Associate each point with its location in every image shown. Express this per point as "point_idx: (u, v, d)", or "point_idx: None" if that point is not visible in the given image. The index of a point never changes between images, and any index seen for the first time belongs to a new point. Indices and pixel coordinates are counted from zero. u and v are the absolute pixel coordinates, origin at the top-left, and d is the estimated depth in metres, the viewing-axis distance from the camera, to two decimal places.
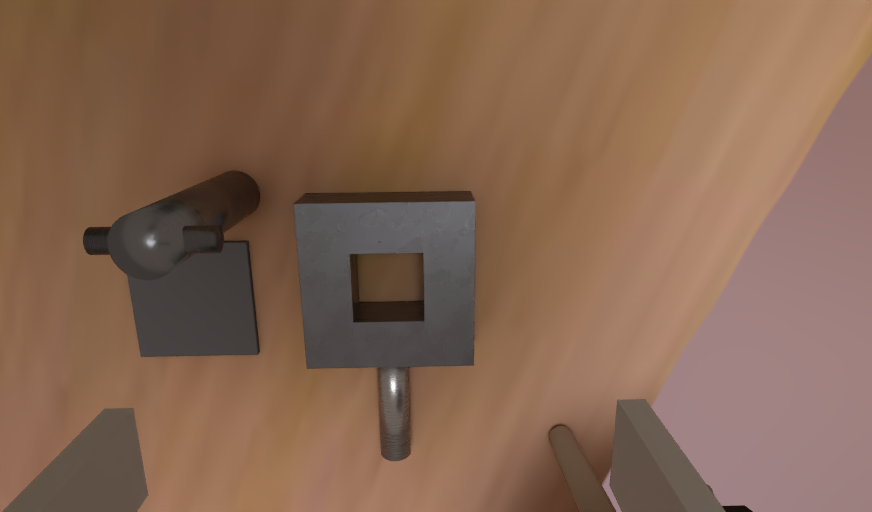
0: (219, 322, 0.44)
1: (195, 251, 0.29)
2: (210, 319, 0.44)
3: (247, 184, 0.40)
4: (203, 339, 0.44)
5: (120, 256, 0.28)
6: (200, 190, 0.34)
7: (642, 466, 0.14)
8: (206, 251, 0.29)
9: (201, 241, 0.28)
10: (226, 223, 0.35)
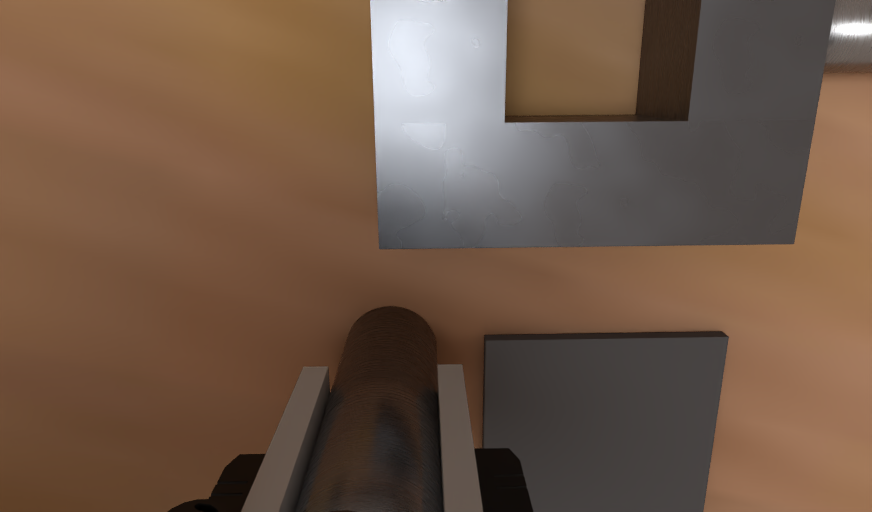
0: (649, 401, 0.22)
1: None
2: (641, 417, 0.22)
3: (358, 333, 0.20)
4: (680, 432, 0.22)
5: None
6: None
7: (439, 418, 0.16)
8: None
9: None
10: (394, 417, 0.14)
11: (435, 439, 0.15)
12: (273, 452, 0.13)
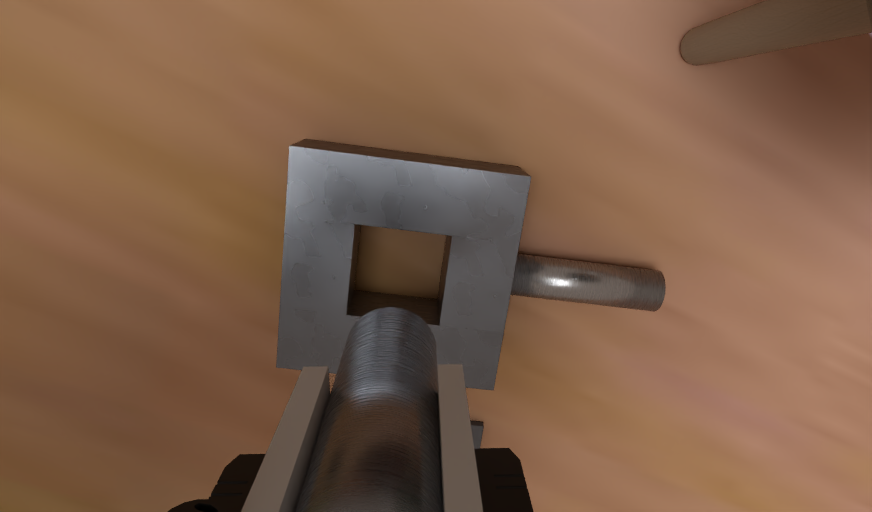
0: None
1: None
2: None
3: (358, 334, 0.20)
4: None
5: None
6: None
7: (439, 418, 0.16)
8: None
9: None
10: (394, 418, 0.14)
11: (435, 440, 0.15)
12: (273, 452, 0.13)
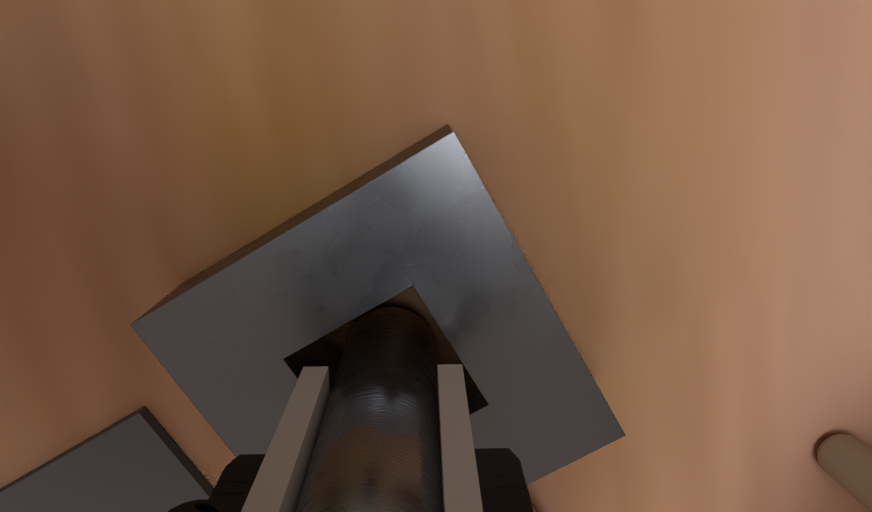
0: None
1: None
2: None
3: (358, 334, 0.20)
4: None
5: None
6: None
7: (439, 418, 0.16)
8: None
9: None
10: (394, 418, 0.14)
11: (435, 440, 0.15)
12: (273, 452, 0.13)
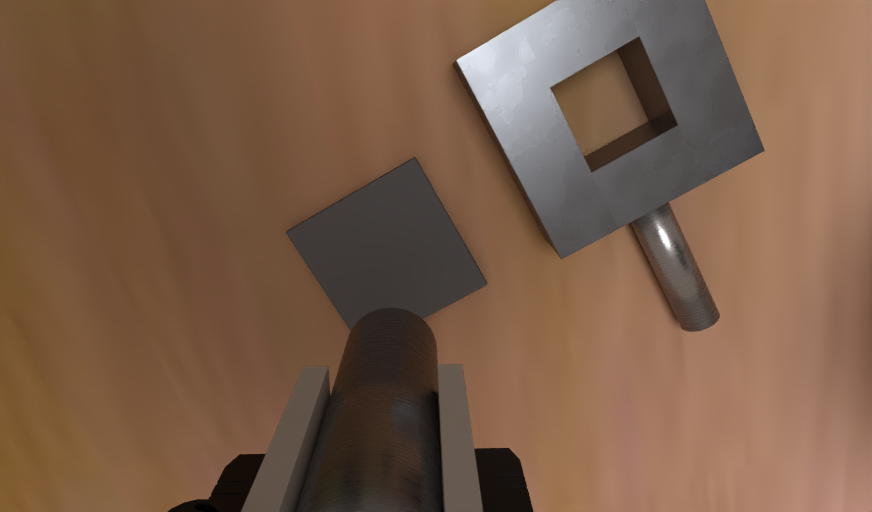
0: (429, 268, 0.36)
1: None
2: (417, 270, 0.36)
3: (359, 334, 0.20)
4: (420, 296, 0.36)
5: None
6: None
7: (439, 418, 0.16)
8: None
9: None
10: (395, 418, 0.14)
11: (436, 441, 0.15)
12: (273, 452, 0.13)
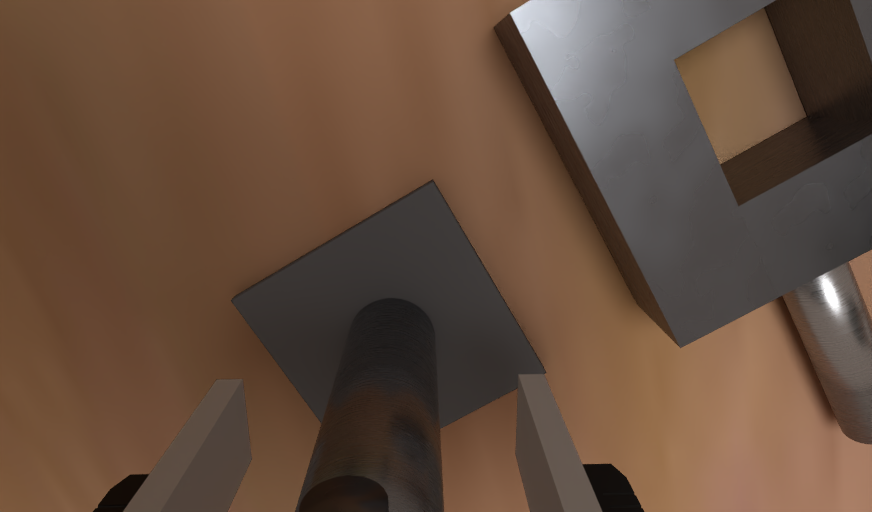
0: (456, 351, 0.23)
1: None
2: (438, 354, 0.23)
3: (361, 323, 0.21)
4: (443, 392, 0.23)
5: None
6: None
7: (529, 431, 0.15)
8: None
9: None
10: (395, 399, 0.15)
11: (434, 420, 0.16)
12: (157, 474, 0.13)
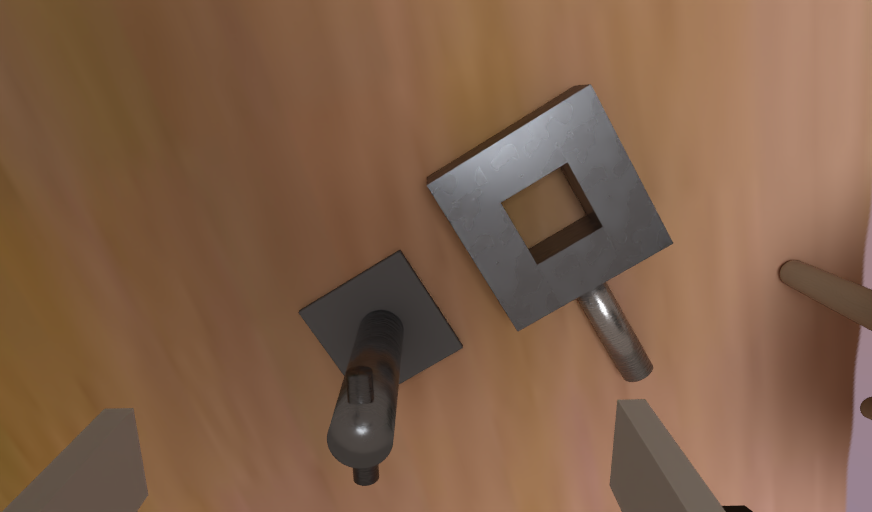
0: (415, 337, 0.44)
1: (368, 394, 0.30)
2: (405, 338, 0.44)
3: (365, 322, 0.42)
4: (409, 359, 0.44)
5: (370, 459, 0.30)
6: None
7: (642, 466, 0.14)
8: (368, 384, 0.30)
9: (356, 389, 0.30)
10: (379, 352, 0.36)
11: (396, 361, 0.37)
12: None
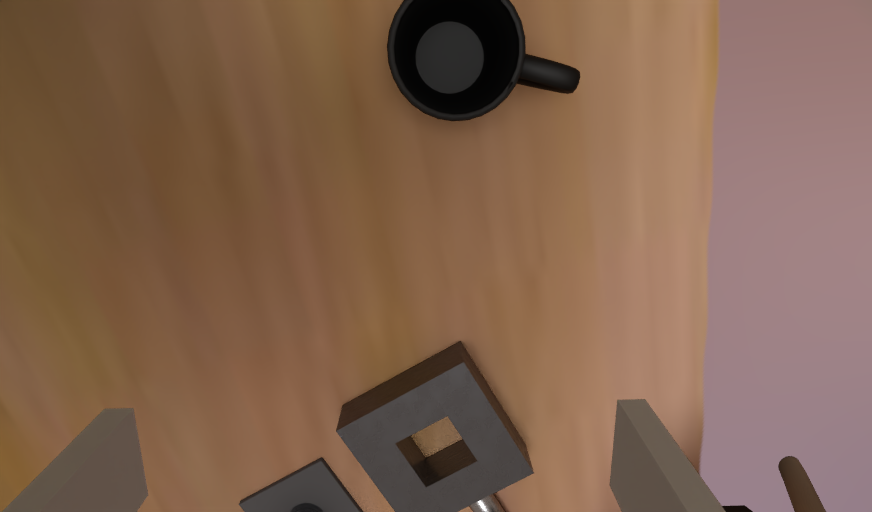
0: None
1: None
2: None
3: None
4: None
5: None
6: None
7: (642, 465, 0.14)
8: None
9: None
10: None
11: None
12: None
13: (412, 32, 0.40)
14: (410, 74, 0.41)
